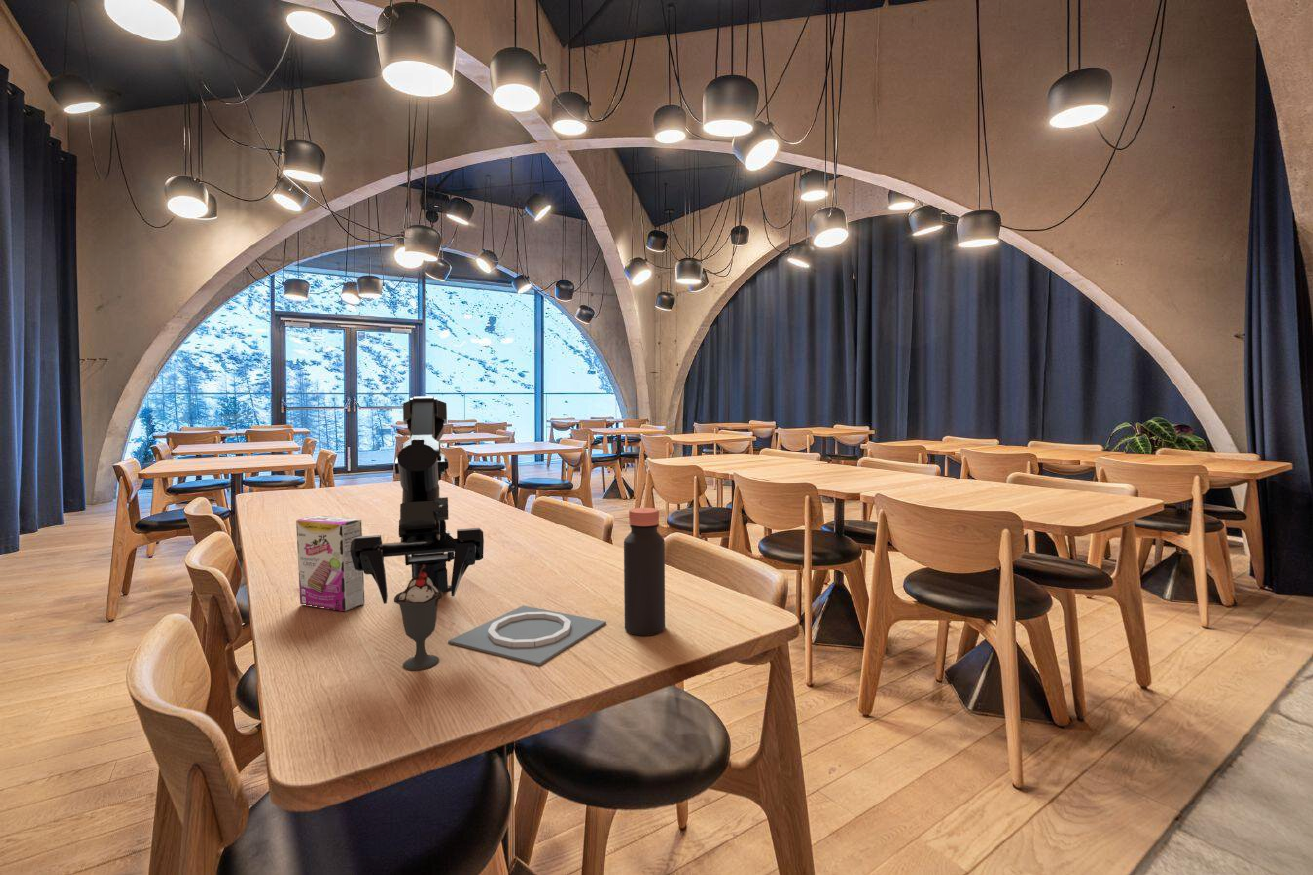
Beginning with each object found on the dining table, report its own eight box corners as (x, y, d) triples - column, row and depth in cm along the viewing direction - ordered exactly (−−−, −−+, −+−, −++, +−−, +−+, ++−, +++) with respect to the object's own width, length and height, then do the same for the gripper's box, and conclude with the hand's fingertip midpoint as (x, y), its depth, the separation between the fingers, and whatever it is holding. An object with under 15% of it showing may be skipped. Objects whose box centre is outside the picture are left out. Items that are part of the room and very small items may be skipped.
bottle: (635, 639, 95) (634, 515, 94) (618, 625, 101) (616, 508, 100) (672, 632, 98) (672, 511, 97) (653, 618, 104) (653, 505, 103)
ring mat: (448, 643, 95) (448, 635, 94) (523, 607, 110) (523, 601, 110) (539, 665, 86) (539, 657, 86) (606, 623, 102) (606, 616, 102)
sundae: (429, 675, 84) (426, 569, 83) (386, 671, 85) (382, 567, 84) (454, 655, 90) (451, 557, 89) (414, 651, 91) (411, 554, 90)
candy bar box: (297, 606, 112) (294, 519, 111) (320, 598, 116) (317, 514, 115) (344, 613, 108) (340, 523, 107) (366, 604, 113) (362, 518, 112)
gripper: (349, 483, 88) (339, 577, 78) (481, 477, 94) (487, 563, 85) (359, 525, 96) (351, 616, 86) (480, 517, 102) (485, 601, 92)
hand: (419, 598), depth 87 cm, fingers open, 9 cm apart
